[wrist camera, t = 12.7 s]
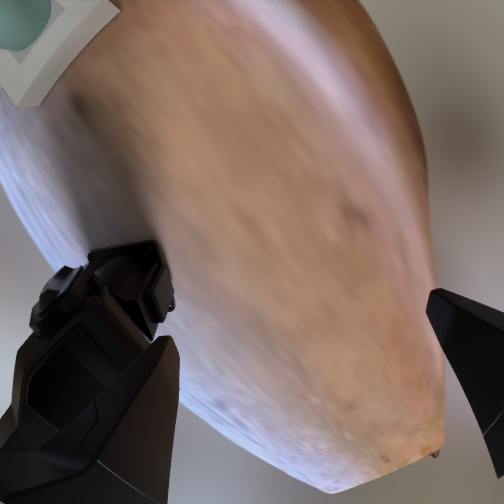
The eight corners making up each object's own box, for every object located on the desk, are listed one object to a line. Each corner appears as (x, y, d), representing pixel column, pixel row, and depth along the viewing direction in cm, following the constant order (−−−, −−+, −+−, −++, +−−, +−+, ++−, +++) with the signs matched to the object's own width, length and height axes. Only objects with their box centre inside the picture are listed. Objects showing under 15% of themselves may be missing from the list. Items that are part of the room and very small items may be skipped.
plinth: (38, 106, 15) (15, 107, 13) (-2, 54, 12) (-22, 52, 9) (120, 11, 13) (104, -3, 10) (66, -29, 10) (50, -40, 7)
